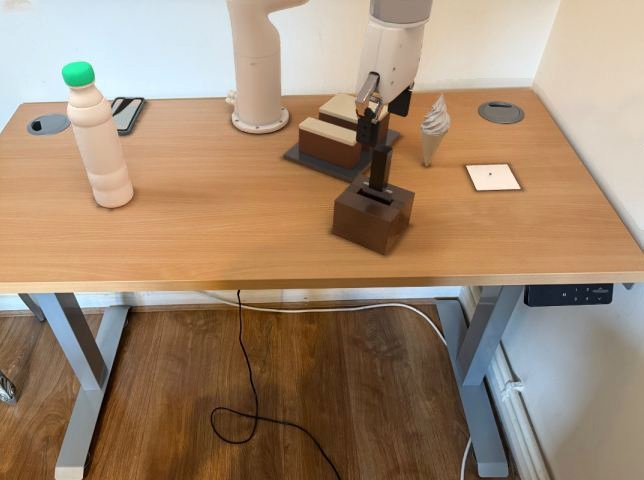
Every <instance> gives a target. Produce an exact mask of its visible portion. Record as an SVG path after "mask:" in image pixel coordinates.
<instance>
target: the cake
mask: <svg viewBox="0 0 644 480" xmlns="http://www.w3.org/2000/svg"><path fill="white" fill-rule="evenodd" d="M356 97H357V96H353V95H349V94H346V93H342V92H338V93H336V94H335V95H334V96H333V97H331V98H330V99H329V100H328V101H326V102H325V103H323V105H321V106H320V107H319V108H318V120H320V121H324V122H327V123H330V124H333V125H336V126H339V127H342V128H346V129H349V130H352V131H355V132H356V131H357V122H358V118H357V114H356V105H355V99H356ZM376 106H377V104H376V103H373V102H370V101H369V106H368V107H369V108H371V109H372V111H373V112H374V111H375V109H376ZM387 108H388V105H386V104H385V105H384V107H383V109H382V112H381V114H380V117H379V119H378V120H379V121H381V124H380V131H379V137H378V143H379V142H380V141H381V140H382V139H383V138H384V137H385V136H386V135H387V133H388V129H389V125H390V119H391V118H390V117H391V113H389V112H388V111H387ZM361 149H362V150H365V151H368V152H369V151H370V150H371V149H373V147H370V146H367V145H364V144H362V145H361Z"/></svg>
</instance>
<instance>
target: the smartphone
mask: <svg viewBox="0 0 644 480" xmlns="http://www.w3.org/2000/svg"><path fill="white" fill-rule="evenodd" d="M145 104H146V98H145V97H143V96H116V97H115V98H114V99H113V101H112V102H111V103H110V105H111V109H112V117H113V119H114V122H115V125H116V128H117V132H118V135H119V136H120V135H124V136H125V135H128V134H130V133H131V131H132V129H133V127H134V125H135V123H136V121H137V120H138V117H139V115H140V113H141V112H142V110H143V107H144V106H145Z"/></svg>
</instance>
